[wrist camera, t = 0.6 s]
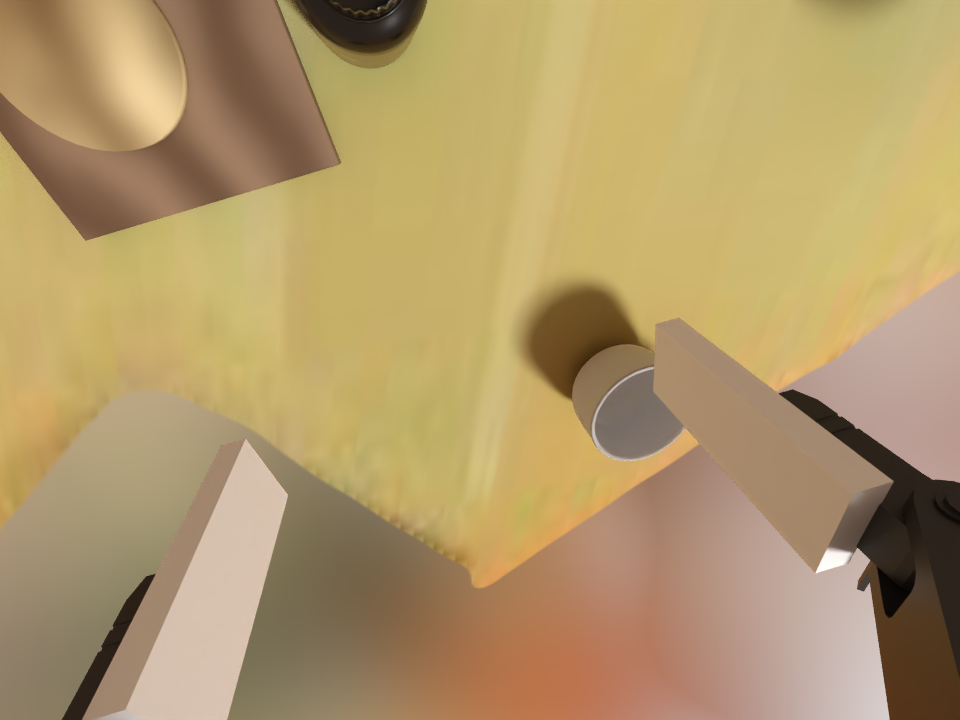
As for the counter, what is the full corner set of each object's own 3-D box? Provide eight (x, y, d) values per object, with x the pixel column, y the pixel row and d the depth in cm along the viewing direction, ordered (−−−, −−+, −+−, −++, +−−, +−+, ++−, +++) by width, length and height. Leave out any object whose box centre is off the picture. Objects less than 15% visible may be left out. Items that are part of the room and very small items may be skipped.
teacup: (543, 400, 45) (571, 449, 38) (596, 316, 41) (637, 354, 34) (636, 428, 50) (675, 475, 44) (691, 356, 46) (743, 396, 40)
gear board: (188, -224, 20) (130, -326, 16) (341, 162, 30) (333, 170, 25) (-179, -130, 20) (-354, -207, 15) (98, 235, 29) (44, 257, 25)
